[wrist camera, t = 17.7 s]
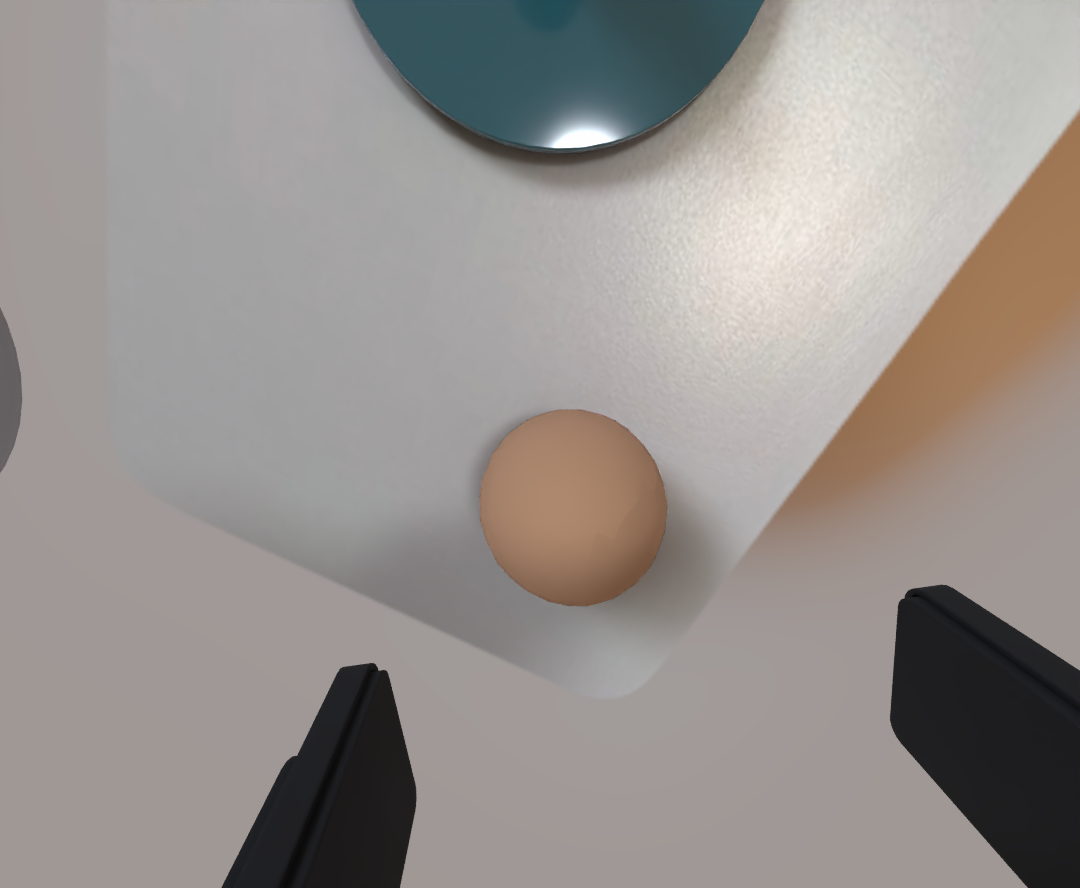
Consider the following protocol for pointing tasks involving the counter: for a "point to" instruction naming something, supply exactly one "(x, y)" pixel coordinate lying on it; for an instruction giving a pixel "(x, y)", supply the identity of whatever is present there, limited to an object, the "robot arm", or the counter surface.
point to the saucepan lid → (558, 62)
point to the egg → (573, 507)
